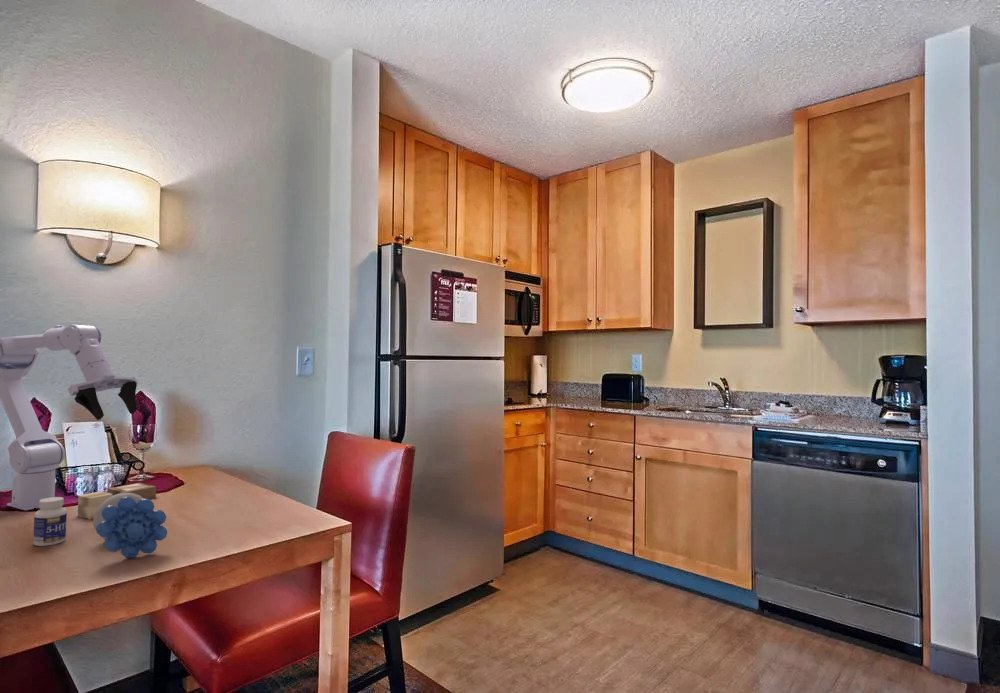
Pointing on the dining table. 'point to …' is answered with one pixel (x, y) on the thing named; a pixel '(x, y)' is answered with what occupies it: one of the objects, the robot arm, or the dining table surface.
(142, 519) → the blue flower rosette
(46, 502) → the pill bottle
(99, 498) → the cube
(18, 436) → the robot arm
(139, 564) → the dining table surface
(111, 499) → the donut
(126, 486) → the base
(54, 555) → the dining table surface
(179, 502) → the dining table surface
